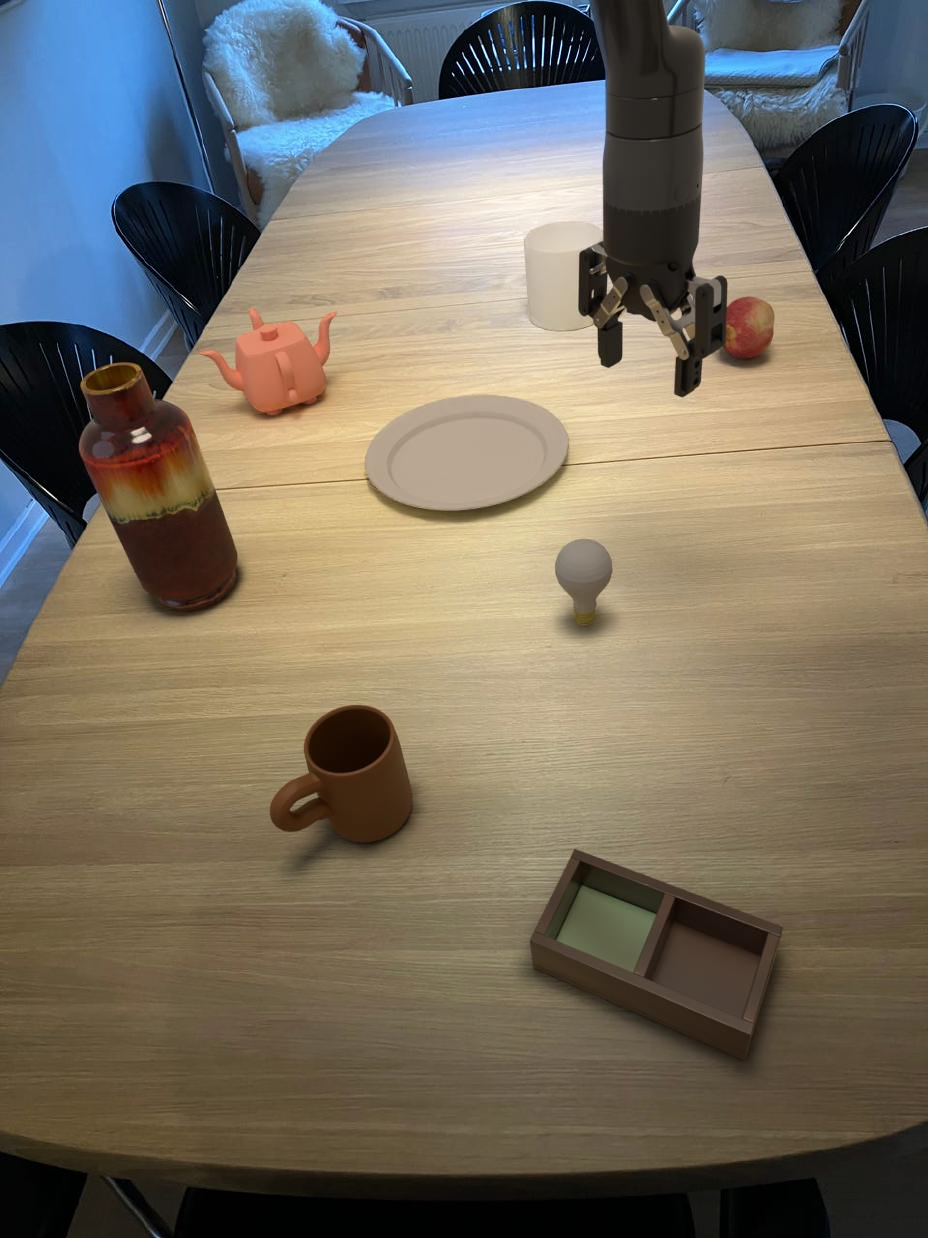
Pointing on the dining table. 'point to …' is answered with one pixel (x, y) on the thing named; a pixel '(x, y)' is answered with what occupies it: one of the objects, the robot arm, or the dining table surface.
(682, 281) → the robot arm
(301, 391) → the teapot
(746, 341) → the fruit
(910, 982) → the dining table surface
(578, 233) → the cup
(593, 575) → the light bulb
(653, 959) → the tray
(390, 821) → the mug
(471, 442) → the plate
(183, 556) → the vase
